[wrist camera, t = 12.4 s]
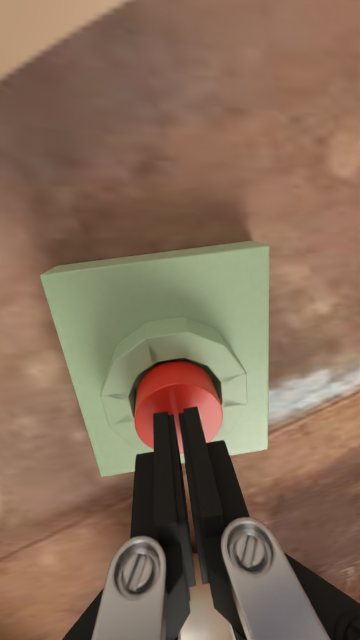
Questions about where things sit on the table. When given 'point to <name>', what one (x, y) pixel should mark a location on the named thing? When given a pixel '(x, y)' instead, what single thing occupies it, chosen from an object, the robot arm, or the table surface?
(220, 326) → the button block
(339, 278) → the table surface
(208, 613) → the silver rounded figure
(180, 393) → the button
